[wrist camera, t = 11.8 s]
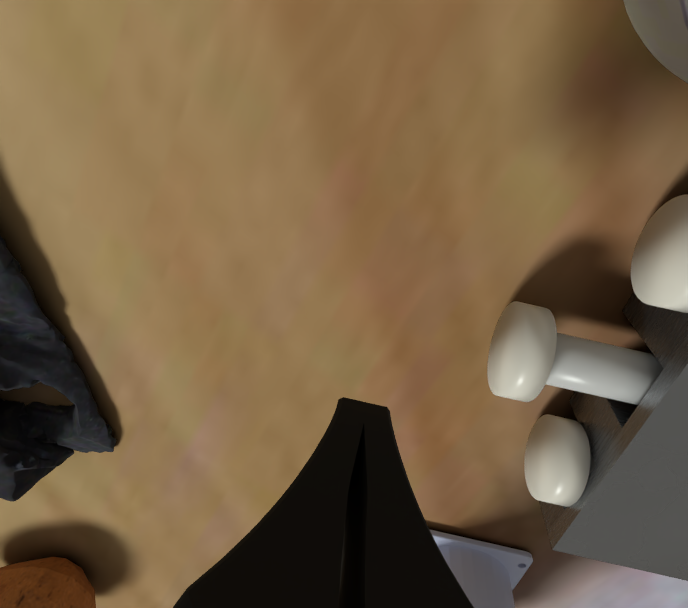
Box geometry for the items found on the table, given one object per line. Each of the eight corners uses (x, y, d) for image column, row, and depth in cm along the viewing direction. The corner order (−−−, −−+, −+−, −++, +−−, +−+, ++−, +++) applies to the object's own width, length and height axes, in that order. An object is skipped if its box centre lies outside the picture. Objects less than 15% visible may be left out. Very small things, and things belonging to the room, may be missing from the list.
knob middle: (652, 394, 23) (694, 460, 19) (482, 356, 23) (495, 415, 19) (700, 326, 21) (758, 387, 17) (513, 284, 21) (534, 337, 17)
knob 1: (669, 486, 26) (709, 558, 22) (518, 452, 26) (535, 518, 22) (713, 434, 23) (764, 505, 20) (549, 397, 23) (572, 462, 20)
